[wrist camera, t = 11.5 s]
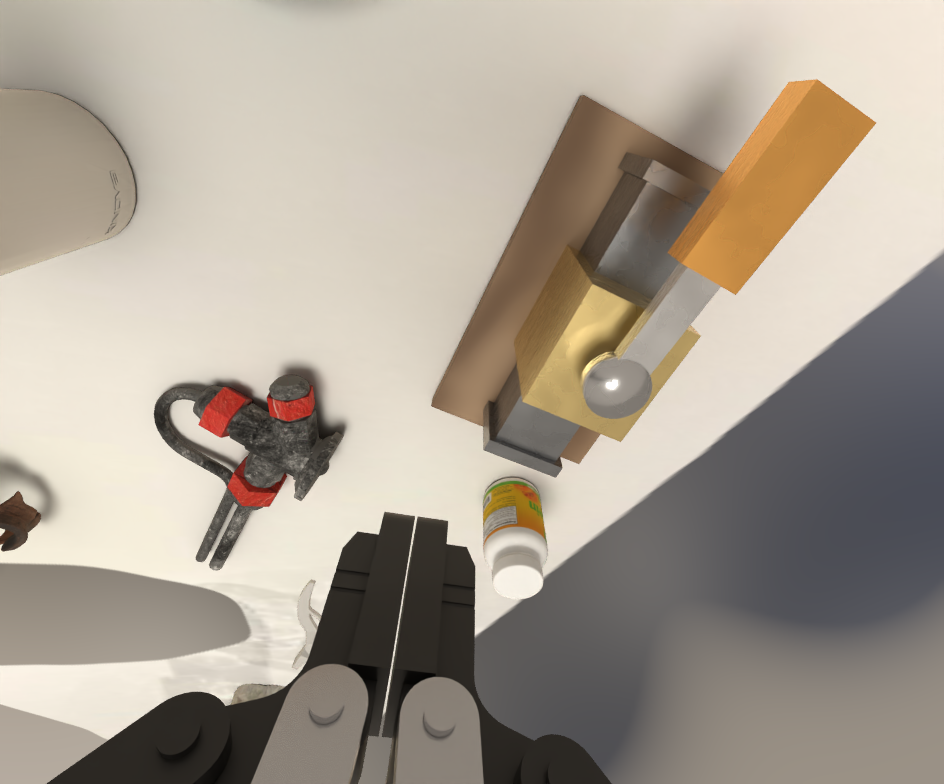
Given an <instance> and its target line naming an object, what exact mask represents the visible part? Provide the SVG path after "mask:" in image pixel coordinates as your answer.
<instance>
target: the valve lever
mask: <svg viewBox="0 0 944 784" xmlns="http://www.w3.org/2000/svg"><path fill="white" fill-rule="evenodd" d="M875 124H876V122H874V121H873V120H872V119H870V118H869V117H868V116H866V115H865V114H864V113H862V112H861V111H859V110H858V109H857V108H855V107H854V106H853V105H851V104H850V103H849V102H847V101H846V100H844V99H843V98H842V97H840V96H839V95H838V94H836V93H835V92H834V91H832V90H831V89H830V88H828V87H827V86H825V85H824V84H823V83H821V82H820V81H819V80H806V81H795V82H788V84H787V85H786V87H785V88H784V89H783V91H782V92H781V94H780V95H779V96H778V98H777V99H776V101H775V102H774V104H773V105H772V106H771V108H770V109H769V111H768V112H767V113H766V115H765V116H764V118H763V119H762V120H761V122H760V123H759V125H758V126H757V127H756V129H755V130H754V132H753V133H752V134H751V136H750V137H749V139H748V140H747V141H746V143H745V144H744V146H743V147H742V148H741V150H740V151H739V153H738V154H737V156H736V157H735V158H734V160H733V161H732V163H731V164H730V165H729V167H728V168H727V170H726V171H725V172H724V174H723V175H722V177H721V178H720V179H719V181H718V182H717V184H716V185H715V186H714V188H713V189H712V191H711V192H710V193H709V195H708V196H707V198H706V199H705V200H704V202H703V203H702V205H701V206H700V208H699V209H698V210H697V212H696V213H695V215H694V216H693V217H692V219H691V220H690V222H689V223H688V224H687V226H686V227H685V229H684V230H683V231H682V233H681V234H680V236H679V237H678V238H677V240H676V241H675V243H674V244H673V245H672V247H671V248H670V250H669V251H668V252H667V253H668V254H670V255H671V256H672V257H674V258H675V259H676V260H678V261H679V262H680V263H679V264H678V265H677V267H676V268H675V269H674V271H673V272H672V273H671V275H670V276H669V278H668V279H667V280H666V282H665V283H664V284H663V286H662V287H661V289H660V290H659V291H658V293H657V294H656V295H655V297H654V298H653V299H652V301H651V302H650V304H649V305H648V306H647V308H646V309H645V310H644V312H643V313H642V314H641V316H640V317H639V319H638V320H637V321H636V323H635V324H634V325H633V327H632V328H631V330H630V331H629V332H628V334H627V335H626V336H625V338H624V339H623V340H622V342H621V343H620V345H619V346H618V347H617V349H616V350H615V351H610V352H606V353H603V354H601V355H599V356H597V357H595V358H594V359H593V360H591V361H590V362H589V363H588V365H587V366H586V367H585V369H584V371H583V373H582V376H581V380H580V385H581V390H582V393H583V396H584V398H585V401H586V404H587V406H588V407H589V408H590V410H591V411H592V412H594V413H595V414H597V415H598V416H601V417H604V418H609V419H618V418H624V417H627V416H630V415H632V414H634V413H636V412H637V411H638V410H640V409H641V408H642V407H643V406H644V405H645V404H646V402H647V401H648V399H649V397H650V395H651V392H652V380H651V377H650V375H651V374H652V372H653V371H654V370H655V369H656V367H657V366H658V365H659V364H660V362H661V361H662V360H663V359H664V357H665V356H666V355H667V354H668V352H669V351H670V350H671V349H672V347H673V346H674V345H675V344H676V342H677V341H678V340H679V338H680V337H681V336H682V335H683V333H684V332H685V331H686V330H687V328H688V327H689V326H690V325H691V323H692V322H693V321H694V320H695V318H696V317H697V316H698V315H699V313H700V312H701V311H702V310H703V308H704V307H705V306H706V304H707V303H708V302H709V301H710V299H711V298H712V297H713V296H714V294H715V293H716V292H717V291H718V289H719V288H720V287H723V288H725V289H726V290H728V291H730V292H732V293H733V294H735V295H736V294H737V293H738V291H739V290H740V289H741V288H742V287H743V285H744V284H745V283H746V282H747V280H748V279H749V278H750V277H751V276H752V274H753V273H754V272H755V271H756V269H757V268H758V267H759V266H760V265H761V263H762V262H763V261H764V260H765V258H766V257H767V256H768V255H769V254H770V252H771V251H772V250H773V249H774V247H775V246H776V245H777V244H778V243H779V241H780V240H781V239H782V238H783V236H784V235H785V234H786V233H787V232H788V230H789V229H790V228H791V227H792V225H793V224H794V223H795V222H796V221H797V219H798V218H799V217H800V216H801V214H802V213H803V212H804V211H805V210H806V208H807V207H808V206H809V205H810V203H811V202H812V201H813V200H814V199H815V197H816V196H817V195H818V194H819V192H820V191H821V190H822V189H823V187H824V186H825V185H826V184H827V183H828V181H829V180H830V179H831V178H832V176H833V175H834V174H835V173H836V172H837V170H838V169H839V168H840V167H841V165H842V164H843V163H844V162H845V161H846V159H847V158H848V157H849V156H850V154H851V153H852V152H853V151H854V150H855V148H856V147H857V146H858V145H859V143H860V142H861V141H862V140H863V139H864V137H865V136H866V135H867V134H868V132H869V131H870V130H871V129H872V128H873V126H874V125H875Z"/></svg>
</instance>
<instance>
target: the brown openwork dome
mask: <svg viewBox="0 0 944 784" xmlns="http://www.w3.org/2000/svg"><path fill="white" fill-rule="evenodd" d="M40 519H41V514H40V513H38V512H37V510H36V509H34V508H33V507H30V506H29V505H27V504H25V503H24V501H23V497H22V495H21V493H20V492H19V491H17V492H16V493H15V495H14V496H12V497H11V498H10V499H9V500H7V501H5V502H4V503H2V504H1V505H0V528H2V529H5V532H4V533H3V534H2V535H1V536H0V545H1V544H3V546H2V548H1V550H2V551H9V550H14V549H16V548H18V547H20V546H21V545H22V544H24V543H25V542H26V540H27V538H28V532H29V531H31V530H32V529H33V528H34V527H35V526H36V525H37V524H38V523H39V522H40Z"/></svg>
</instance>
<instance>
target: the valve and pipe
mask: <svg viewBox="0 0 944 784" xmlns="http://www.w3.org/2000/svg"><path fill="white" fill-rule="evenodd" d="M618 168H619V169H621V170H623V171H624V173H623V175H622V177H621V178H620V180H619V182H618V184H617V186H616V187H615V189H614V191H613V193H612V194H611V196H610V198H609V200H608V201H607V203H606V205H605V207H604V209H603V210H602V212H601V214H600V216H599V217H598V219H597V221H596V223H595V224H594V226H593V228H592V230H591V232H590V233H589V235H588V237H587V239H586V240H585V242H584V244H583V246H582V247H581V249H580V251H579V250H577V249H575V248H573V247H571V246H569V245H566V247H565V249H564V251H563V253H562V255H561V256H560V258H559V260H558V262H557V264H556V266H555V267H554V269H553V271H552V273H551V275H550V276H549V278H548V280H547V282H546V284H545V286H544V287H543V289H542V291H541V293H540V295H539V297H538V298H537V300H536V302H535V304H534V306H533V307H532V309H531V311H530V313H529V315H528V317H527V318H526V320H525V322H524V324H523V326H522V328H521V329H520V331H519V333H518V335H517V337H516V338H515V340H514V347H515V354H516V361H517V363H516V364H515V366H514V368H513V370H512V371H511V373H510V375H509V377H508V379H507V380H506V382H505V384H504V386H503V387H502V389H501V391H500V393H499V394H498V396H497V398H496V400H495V402H491V401H489V400H488V402H487V404H486V406H485V407H484V409H483V450H485V451H487V452H490V453H493V454H495V455H498V456H500V457H503V458H506V459H508V460H511V461H514V462H516V463H519V464H521V465H524V466H527V467H529V468H532V469H535V470H537V471H540V472H542V473H545V474H548V475H550V476H553V477H557V475H558V474H559V472H560V471H561V470H562V463H561V459H560V455H561V453H562V452H563V450H564V449H565V447H566V446H567V445H568V443H569V442H570V440H571V439H572V437H573V436H574V434H575V433H576V432H577V430H578V429H579V427H580V426H583V427H586V428H588V429H590V430H593V431H595V432H598V433H600V434H603V435H605V436H608V437H610V438H612V439H615V440H617V441H620V442H621V441H622V440H623V438H624V437H625V436H626V434H627V433H628V432H629V430H630V429H631V428H632V426H633V425H634V424H635V422H636V421H637V420H638V419H639V417H640V416H641V415H642V413H643V412H644V411H645V409H646V408H647V407H648V405H649V404H650V403H651V401H652V400H653V399H654V397H655V396H656V395H657V393H658V392H659V391H660V389H661V388H662V387H663V385H664V384H665V383H666V381H667V380H668V379H669V377H670V376H671V375H672V374H673V372H674V371H675V370H676V368H677V367H678V366H679V364H680V363H681V362H682V360H683V359H684V358H685V356H686V355H687V354H688V352H689V351H690V350H691V348H692V347H693V346H694V344H695V343H696V342H697V340H698V339H699V338H700V335H699V334H698V332H697V331H696V330H695V329H694V328H693V327H692V326H691V325H690V326H689V327H688V328H687V330H686V331H685V332H684V333H683V335H682V336H681V337H680V338H679V340H678V341H677V342H676V344H675V345H674V346H673V347H672V349H671V350H670V351H669V352H668V354H667V355H666V356H665V357H664V359H663V360H662V361H661V362H660V364H659V365H658V366H657V367H656V369H655V370H654V371H653V372H652V374H651V375H650V377H651V380H652V392H651V395H650V397H649V399H648V401H647V402H646V404H645V405H644V406H643V407H642V408H641V409H640V410H638V411H637V412H636V413H634V414H632V415H630V416H627V417H624V418H618V419H609V418H604V417H601V416H598V415H597V414H595V413H594V412H592V411H591V410H590V408H589V407H588V406H587V404H586V401H585V398H584V396H583V393H582V390H581V385H580V380H581V376H582V373H583V371H584V369H585V367H586V366H587V365H588V363H589V362H590V361H591V360H593V359H594V358H595V357H597V356H599V355H601V354H603V353H606V352H610V351H615V350H616V349H617V347H618V346H619V345H620V343H621V342H622V340H623V339H624V338H625V336H626V335H627V334H628V332H629V331H630V330H631V328H632V327H633V325H634V324H635V323H636V321H637V320H638V319H639V317H640V316H641V314H642V313H643V312H644V310H645V309H646V308H647V306H648V305H649V304H650V302H651V301H652V299H653V298H654V297H655V295H656V294H657V293H658V291H659V290H660V289H661V287H662V286H663V284H664V283H665V282H666V280H667V279H668V278H669V276H670V275H671V273H672V272H673V271H674V269H675V268H676V267H677V265H678V264H679V263H680V262H679V261H678V260H676V259H675V258H674V257H672V256H671V255H670V254H668V253H667V252H668V251H669V250H670V248H671V247H672V245H673V244H674V243H675V241H676V240H677V238H678V237H679V236H680V234H681V233H682V231H683V230H684V229H685V227H686V226H687V224H688V223H689V222H690V220H691V219H692V217H693V216H694V215H695V213H696V212H697V210H698V209H699V208H700V206H701V205H702V203H703V202H704V200H705V199H706V198H707V196H708V195H709V193H710V192H711V191H710V190H708V189H706V188H704V187H702V186H701V185H699V184H697V183H695V182H693V181H691V180H690V179H688V178H686V177H684V176H682V175H681V174H679V173H677V172H675V171H673V170H672V169H670V168H668V167H666V166H664V165H662V164H661V163H659V162H657V161H655V160H653V159H650V158H646V157H643V156H639V155H636V154H632V153H629V152H626V154H625V156H624V158H623V159H622V161H621V163H620V165H619V167H618Z"/></svg>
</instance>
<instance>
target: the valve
mask: <svg viewBox="0 0 944 784" xmlns="http://www.w3.org/2000/svg"><path fill="white" fill-rule="evenodd" d="M269 390H270V392H269V394H268V396H267V401H268V407H269V412H270V413H268V412H267V411H265V410H263V409H262V408H260V407H258V406H256V405H255V404H253V403H251V402H252V399H251V398H249V397H247V396H245V395H243V394H242V393H240V392H238V391H236V390H235V389H233V388H231V387H224V388H222V387H219V386H215V385H212V386H210V387H208V388H207V389H205V390H204V391H203V392H202V391H199V390H196V389H192V388H175V389H171V390H169V391H167V392H165V393H164V394H163V395H162V396H161V397H160V398H159V399H158V400H157V402H156V404H155V410H154V418H155V424H156V426H157V429H158V431H159V433H160V435H161V436H162V438H163V439H164V440H165V442H166V443H167V444H168V445H169V446H170V447H171V448H172V449H173V450H175V451H176V452H177V453H179V454H180V455H182V456H183V457H185V458H187V459H188V460H190V461H192V462H194V463H196V464H197V465H199V466H201V467H203V468H204V469H206V470H208V471H210V472H212V473H213V474H215V475H217V476H218V477H220V478H221V479H222V480H223V481H224V482H225V484H226V486H227V490H226V492H225V494H224V497H223V499H222V501H221V503H220V505H219V507H218V510H217V512H216V514H215V516H214V518H213V520H212V523H211V525H210V527H209V529H208V531H207V533H206V536H205V538H204V540H203V542H202V544H201V547H200V549H199V551H198V553H197V555H196V560H197V561H198V562H203V561H205V560H206V558H207V556H208V554H209V552H210V550H211V548H212V545H213V543H214V541H215V539H216V537H217V535H218V533H219V531H220V529H221V527H222V525H223V523H224V520H225V518H226V516H227V514H228V512H229V510H230V508H231V506H232V504H233V502H235V503H236V504H237V505H238V507H237V509H236V511H235V513H234V515H233V517H232V519H231V521H230V523H229V525H228V527H227V529H226V531H225V533H224V535H223V537H222V539H221V541H220V543H219V545H218V547H217V549H216V551H215V553H214V555H213V557H212V559H211V561H210V564H209V566H210V568H211V569H212V570H220V569H221V568H222V567H223V565H224V563H225V561H226V559H227V557H228V555H229V553H230V551H231V549H232V547H233V545H234V544H235V542H236V540H237V538H238V536H239V534H240V532H241V530H242V528H243V526H244V524H245V522H246V521H247V519H248V517H249V515H250V513H251V511H252V510H258V509H260V508H262V507H269V506H270V505H271V503H272V501H273V500H274V498H275V497H276V495H277V493H278V492H279V490H280V489H281V487H282V485H283V483H284V481H285V479H286V478H287V475H286V474H285V472H286V473H288V474H290V475H292V476H293V477H294V478H293V479H294V480H296V481H295V495H294V498H296V499H298V500H300V501H302V500H303V498H304V497H305V496H306V494H307V493H308V491H309V490H310V489H311V487H312V486H313V484H314V483H315V481H316V480H317V478H318V477H319V476H320V475H323V474H325V473H326V472H327V470H328V469H329V460H330V458H331V457H332V455H333V453H334V452H335V450H336V448H337V447H338V445H339V443H340V442H341V440H342V438H343V435H341V434H340V433H338V432H336V433H335V434H334V435H331V436H328V437H325V438H324V439H323V440H322V439H319V433H318V424H317V416H316V410H315V409H313V408H314V405H315V399H314V392H313V386H311V385H309V383H308V381H307V380H305V379H303V378H302V377H300V376H297V375H285V376H282V377H279V378H278V379H276V380H275V381H274V382H273V383H272V384H271V385H270V388H269ZM181 399H186V400H192V401H195V404H194V407H193V412H194V413H195V414H196V415H197V416H198V417H199V418H200V422H199V426H201V427H203V428H205V429H206V430H208V431H210V432H212V433H213V434H215V435H217V436H219V437H220V438H221V437H226V436H229V435H230V438H232V439H233V440H235V441H237V442H238V443H240V444H242V445H244V446H245V449H246V450H248V451H250V453H249V455H248V456H246V458H245V459H244V460H243V461H242V463H241V464H240V465H239V467H238V468H237V469H236V470H235V472H234V473H232V472H231V471H230V470H229V469H228V468H226V467H225V466H223V465H221V464H220V463H218V462H216V461H214V460H213V459H211V458H209V457H207V456H205V455H204V454H202V453H200V452H198V451H197V450H195V449H193V448H191V447H190V446H188V445H187V444H185V443H184V442H183V441H182V440H181V439H180V438H179V437H178V436H177V435H176V434H175V433H174V431H173V429H172V428H171V426H170V423H169V421H168V416H167V412H168V408H169V406H170V404H171V403H172V402H174V401H176V400H181Z"/></svg>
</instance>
